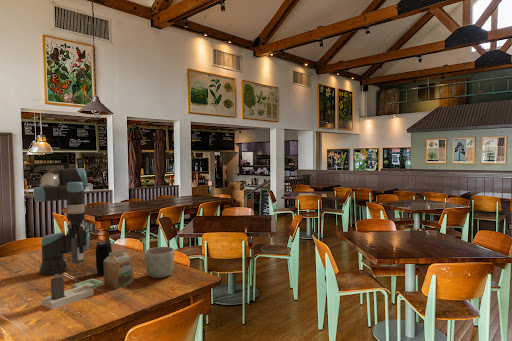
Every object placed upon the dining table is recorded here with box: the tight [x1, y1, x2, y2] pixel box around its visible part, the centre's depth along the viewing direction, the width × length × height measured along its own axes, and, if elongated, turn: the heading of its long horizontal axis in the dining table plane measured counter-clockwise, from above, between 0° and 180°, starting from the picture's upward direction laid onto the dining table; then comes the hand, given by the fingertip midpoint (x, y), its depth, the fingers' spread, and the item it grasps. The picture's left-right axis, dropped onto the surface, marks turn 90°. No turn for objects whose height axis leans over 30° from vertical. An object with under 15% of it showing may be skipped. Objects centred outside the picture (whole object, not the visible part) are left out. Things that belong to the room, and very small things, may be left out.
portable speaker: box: [95, 240, 113, 277], centre depth 208 cm, size 9×9×20 cm
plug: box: [71, 234, 85, 265], centre depth 174 cm, size 4×4×14 cm
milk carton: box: [103, 248, 134, 290], centre depth 189 cm, size 11×11×19 cm
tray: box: [72, 278, 104, 290], centre depth 188 cm, size 11×11×2 cm
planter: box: [144, 246, 175, 279], centre depth 203 cm, size 17×17×15 cm
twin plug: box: [50, 273, 65, 300], centre depth 165 cm, size 4×4×14 cm
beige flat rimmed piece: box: [41, 285, 94, 310], centre depth 169 cm, size 10×20×4 cm, turn 147°
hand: (77, 258), depth 174 cm, fingers closed on plug, 4 cm apart
